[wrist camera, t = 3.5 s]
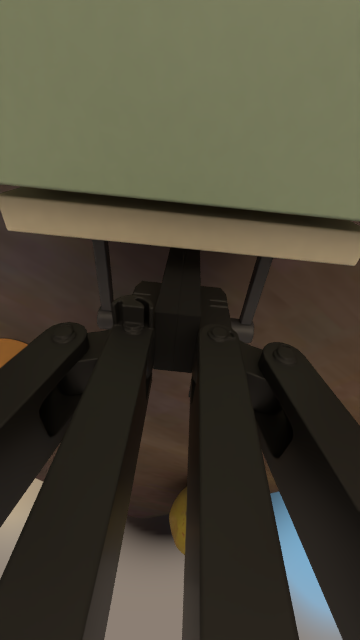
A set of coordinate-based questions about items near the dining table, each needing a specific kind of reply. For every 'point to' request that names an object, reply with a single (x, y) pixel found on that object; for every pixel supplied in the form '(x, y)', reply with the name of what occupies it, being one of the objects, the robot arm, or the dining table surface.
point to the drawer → (181, 234)
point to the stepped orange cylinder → (9, 349)
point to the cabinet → (185, 101)
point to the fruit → (179, 520)
